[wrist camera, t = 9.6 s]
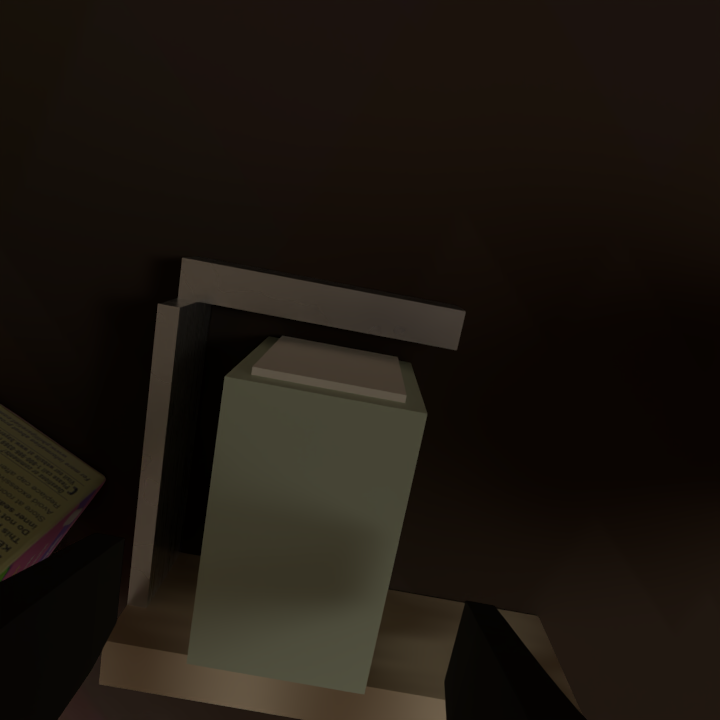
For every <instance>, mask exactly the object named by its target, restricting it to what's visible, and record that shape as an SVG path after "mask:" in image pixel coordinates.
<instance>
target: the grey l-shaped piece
mask: <svg viewBox="0 0 720 720" xmlns="http://www.w3.org/2000/svg"><path fill="white" fill-rule="evenodd" d="M212 304H213V305H218V306H224V307H229V308H234V309H240V310H245V311H250V312H256V313H261V314H266V315H271V316H277V317H282V318H287V319H293V320H298V321H303V322H309V323H314V324H319V325H325V326H330V327H335V328H341V329H346V330H351V331H356V332H362V333H367V334H372V335H378V336H383V337H388V338H394V339H399V340H404V341H410V342H415V343H420V344H426V345H431V346H436V347H441V348H447V349H452V350H457V347H458V343H459V339H460V334H461V330H462V326H463V321H464V317H465V313H466V311H465V310H463V309H462V308H460V307H459V306H457V305H452V304H447V303H442V302H436V301H431V300H426V299H421V298H415V297H410V296H405V295H399V294H394V293H389V292H384V291H378V290H373V289H368V288H363V287H357V286H352V285H347V284H342V283H336V282H331V281H326V280H321V279H315V278H310V277H305V276H299V275H294V274H289V273H284V272H278V271H273V270H268V269H263V268H257V267H252V266H247V265H242V264H236V263H231V262H226V261H221V260H215V259H210V258H205V257H199V256H197V257H184V258H182V265H181V274H180V283H179V292H178V298H176V299H172V300H169V301H165V302H162V303H158V308H157V317H156V327H155V337H154V347H153V357H152V367H151V376H150V386H149V396H148V406H147V416H146V425H145V435H144V445H143V455H142V465H141V474H140V484H139V494H138V504H137V514H136V524H135V533H134V543H133V553H132V563H131V573H130V582H129V592H128V602H127V605H132V606H138V607H144V608H147V606H148V605H149V603H150V601H151V600H152V598H153V597H154V595H155V593H156V592H157V590H158V588H159V587H160V585H161V584H162V582H163V580H164V579H165V577H166V575H167V574H168V572H169V571H170V569H171V567H172V566H173V564H174V562H175V561H176V559H177V558H178V556H179V554H180V553H181V546H182V538H183V530H184V522H185V514H186V506H187V498H188V490H189V482H190V474H191V466H192V458H193V450H194V442H195V434H196V426H197V417H198V409H199V401H200V393H201V385H202V377H203V369H204V361H205V353H206V345H207V337H208V329H209V321H210V313H211V305H212Z"/></svg>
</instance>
